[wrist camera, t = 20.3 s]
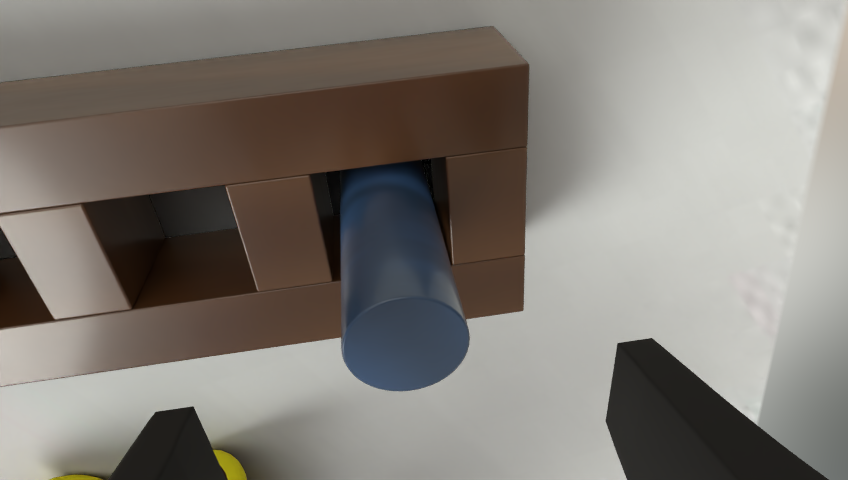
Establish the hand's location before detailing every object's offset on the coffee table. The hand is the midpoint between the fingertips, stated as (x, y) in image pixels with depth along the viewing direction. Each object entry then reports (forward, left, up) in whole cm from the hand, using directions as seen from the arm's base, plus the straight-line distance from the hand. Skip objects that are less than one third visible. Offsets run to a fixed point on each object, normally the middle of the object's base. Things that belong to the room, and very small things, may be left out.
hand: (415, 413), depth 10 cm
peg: (0, +1, -9) cm, 9 cm away
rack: (-5, 0, -9) cm, 11 cm away
